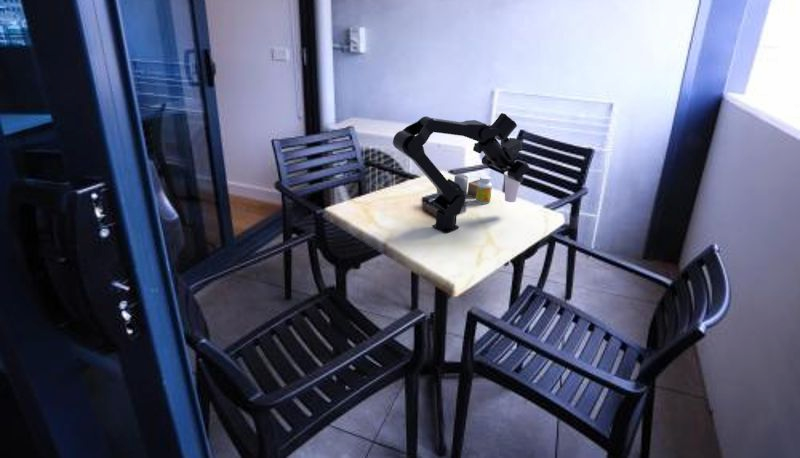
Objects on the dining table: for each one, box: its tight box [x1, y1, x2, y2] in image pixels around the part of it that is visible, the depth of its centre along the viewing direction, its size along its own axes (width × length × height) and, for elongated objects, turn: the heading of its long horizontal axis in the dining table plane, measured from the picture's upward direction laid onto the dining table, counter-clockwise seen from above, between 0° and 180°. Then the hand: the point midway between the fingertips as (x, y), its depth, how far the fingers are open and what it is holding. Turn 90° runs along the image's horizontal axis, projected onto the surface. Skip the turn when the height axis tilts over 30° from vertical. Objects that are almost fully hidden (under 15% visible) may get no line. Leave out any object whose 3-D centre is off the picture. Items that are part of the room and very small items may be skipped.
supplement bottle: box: [475, 175, 493, 205], centre depth 176 cm, size 5×5×10 cm
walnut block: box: [466, 179, 480, 199], centre depth 183 cm, size 6×5×5 cm
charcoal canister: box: [453, 174, 469, 197], centre depth 180 cm, size 5×5×8 cm
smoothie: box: [503, 171, 521, 203], centre depth 161 cm, size 6×6×14 cm
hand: (515, 178), depth 162 cm, fingers closed on smoothie, 6 cm apart
